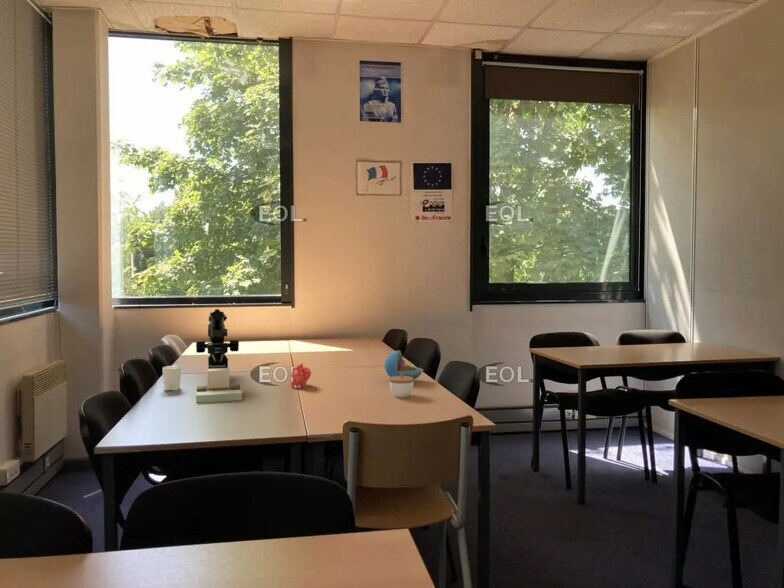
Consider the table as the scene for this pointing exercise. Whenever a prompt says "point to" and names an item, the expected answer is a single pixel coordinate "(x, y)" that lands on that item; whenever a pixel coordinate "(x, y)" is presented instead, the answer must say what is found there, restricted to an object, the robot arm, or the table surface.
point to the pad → (218, 396)
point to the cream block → (218, 377)
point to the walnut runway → (205, 388)
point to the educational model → (400, 366)
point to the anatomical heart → (299, 378)
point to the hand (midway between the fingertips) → (217, 361)
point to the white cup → (171, 377)
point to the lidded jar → (401, 385)
